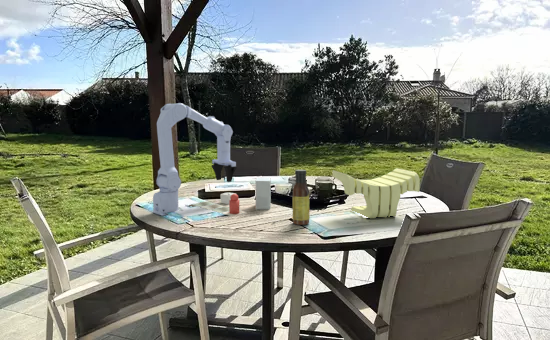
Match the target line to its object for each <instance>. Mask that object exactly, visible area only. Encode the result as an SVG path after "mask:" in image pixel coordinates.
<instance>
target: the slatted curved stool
mask: <svg viewBox="0 0 550 340" xmlns="http://www.w3.org/2000/svg"><path fill="white" fill-rule="evenodd" d="M332 177H333V178H335V179H337V180H338V181H340V183H342V186H343V190H344V194H345V195H347V196H352V195H355V194H357V195H359V194H360V195H363V198H364V200H365V203H366V204H365V205H360V206H357V205H356V206H351V208H350V210H352V211H355V212H357V213H360V214H362V215H364V216H366V217H368V218H370V219H377V218H376V217H385V218H391V217H390V216H395V217H396V216H397V212H398V211H397V210H398V205H399V202H400V200H401V195H404V194H405V193H408V192H416V193H417V192H418V193H419V192H420V182H421V179H420V176H419V174H418V173H417V172H415V171H411V170H407V169H403V168H399V167H397V168H394V169H393V170H392V171H390V172H388V173H386V174H384V175H381V176H380V177H375V178H371V179H357V178H355V177H353V176H351V175H349V174H347V173H344V172H340V171H337V170H334V169H333V170H332ZM387 216H388V217H387Z"/></svg>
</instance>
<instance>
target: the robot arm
mask: <svg viewBox="0 0 550 340" xmlns="http://www.w3.org/2000/svg"><path fill="white" fill-rule="evenodd" d="M185 118H188V119H190V120H193V121H195V122H197V123H199V124H201V125H202V127H203V128H204V129H205V130H207V131H209V132H211V133H213V134H214V135H215V136H216V138H217V139H216V145H217V146H216V148H217V156H216V157H217V159H212V160H211V161H212V162H211V163H212V164H211V168H212V170H213V172H214V175H215V179H216V181H220V180H221V179H222V173H223V168H224V171H225V174H226V182H227V183H231V182H233V177H234V174H235V172H236V169H237V162H236V161H233V160H231V139H232V138H231V137H232V136H233V133H234V131H233V128H232V127H231V126H230V125H229V124H224V122H223V121H222V120H221V121H220V120H218V119H216V117H215V116H214V115H212V116H210V115H209V116H205V115H203V114H201V113H200V112H198V111H196V110H195V109H193V108H192V107H190V106H189V105H185V104H184V103H181V102H178V103H166V104H164V106H162V107H161V108H160V114H159V117H158V118H157V121H156V133H157V141H158V151H159V154H158V155H159V162H160V164H159V165H160V167H159V169H158V170H157V177H156V185H157V186H158V188H159V191H158V192H154V193H153V195H152V204H153V205H152V206H153V207H152V208H153V211H152V213H153V214H156V215H159V216H162V217H163V216H167V215H169V213H172V212H177V211H179V190H180V187H181V185H182V181H181V178H180V176H179V172H178V170H177V168H176V167H175V166H176V165H175V154H174V146H173V145H174V143H173V132H172V128H173V126H175V125H176V123H179V122H180V121H182V120H184V119H185Z"/></svg>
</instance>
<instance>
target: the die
mask: <svg viewBox="0 0 550 340" xmlns="http://www.w3.org/2000/svg"><path fill="white" fill-rule="evenodd" d="M232 194H237V193H234V192H224V193H220V204H226V205H229V200H231V199H230V197H231V195H232Z"/></svg>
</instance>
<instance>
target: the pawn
mask: <svg viewBox="0 0 550 340" xmlns="http://www.w3.org/2000/svg"><path fill="white" fill-rule="evenodd" d="M230 199H231V200H229V204H228V205H229V206H228V207H229V213H230V214H238V213H239V210H240V199H239V195H238V194H237V193H236V194H232V195H231V197H230Z"/></svg>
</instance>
